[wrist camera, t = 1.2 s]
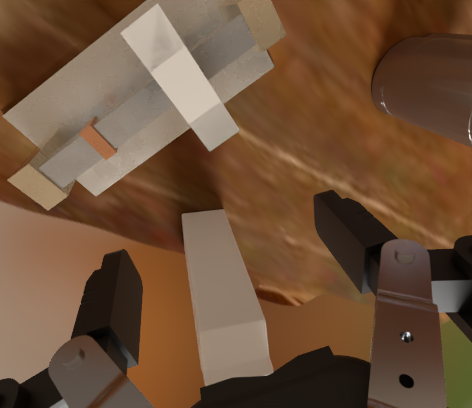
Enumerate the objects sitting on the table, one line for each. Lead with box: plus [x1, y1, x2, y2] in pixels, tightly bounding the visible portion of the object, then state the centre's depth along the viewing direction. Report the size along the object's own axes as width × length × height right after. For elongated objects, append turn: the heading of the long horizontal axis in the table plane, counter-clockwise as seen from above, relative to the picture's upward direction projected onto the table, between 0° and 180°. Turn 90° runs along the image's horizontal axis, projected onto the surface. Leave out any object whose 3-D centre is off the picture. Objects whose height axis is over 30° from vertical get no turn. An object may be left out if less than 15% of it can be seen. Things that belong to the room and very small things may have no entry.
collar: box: [120, 3, 240, 152], centre depth 26 cm, size 3×10×10 cm, turn 32°
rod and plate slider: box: [3, 0, 286, 210], centre depth 28 cm, size 26×12×8 cm, turn 122°
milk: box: [182, 209, 273, 386], centre depth 34 cm, size 6×6×22 cm
